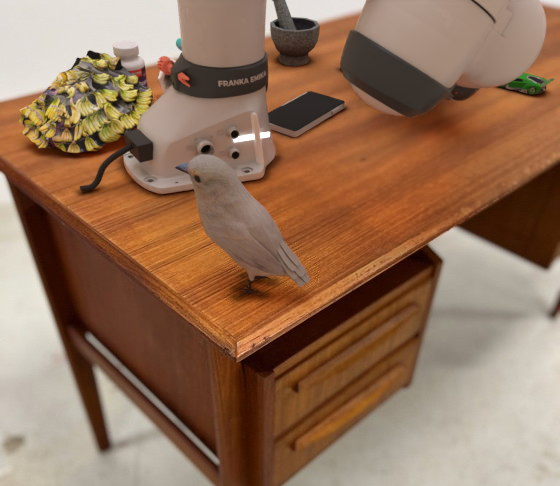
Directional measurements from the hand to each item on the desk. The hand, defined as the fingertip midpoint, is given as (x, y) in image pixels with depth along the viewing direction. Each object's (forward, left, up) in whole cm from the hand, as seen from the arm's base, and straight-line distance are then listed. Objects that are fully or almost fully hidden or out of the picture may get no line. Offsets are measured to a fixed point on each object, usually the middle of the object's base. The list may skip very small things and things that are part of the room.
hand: (396, 22), depth 106 cm
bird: (-55, -45, -9) cm, 72 cm away
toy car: (+17, -18, -9) cm, 26 cm away
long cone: (-34, +25, -8) cm, 43 cm away
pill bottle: (-50, +8, -9) cm, 51 cm away
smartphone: (-26, -10, -9) cm, 30 cm away
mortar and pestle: (-13, +15, -9) cm, 22 cm away
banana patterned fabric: (-59, +1, -7) cm, 59 cm away
